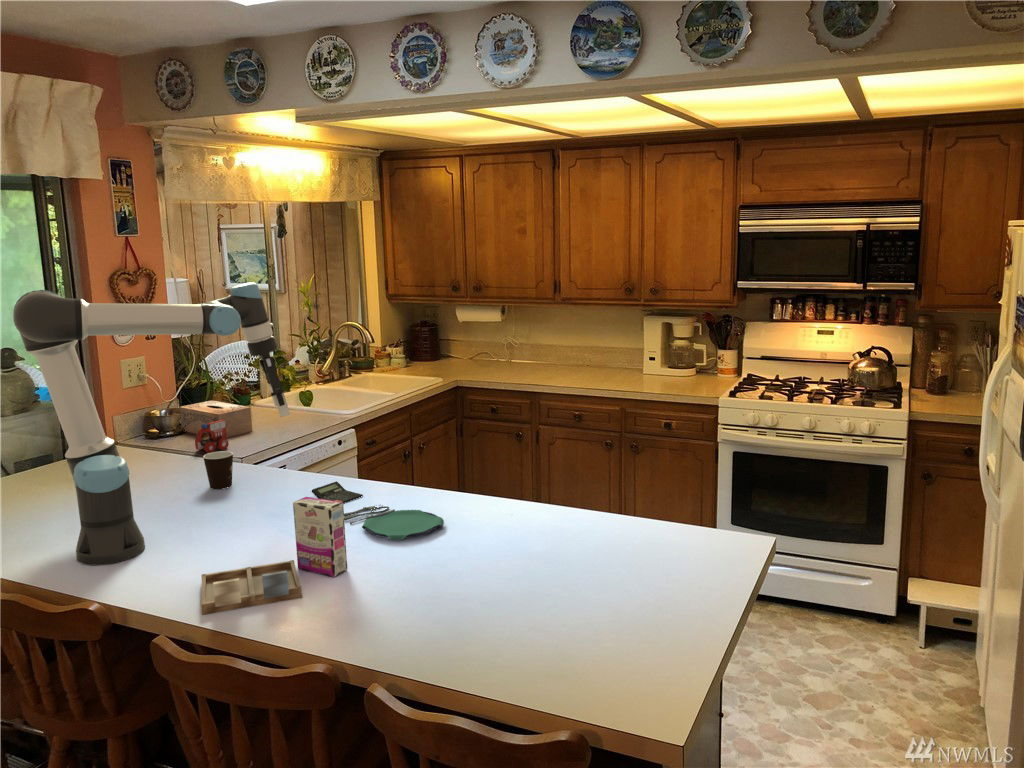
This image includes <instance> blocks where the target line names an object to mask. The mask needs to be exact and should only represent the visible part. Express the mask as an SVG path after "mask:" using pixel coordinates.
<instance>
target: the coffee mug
mask: <svg viewBox="0 0 1024 768" xmlns="http://www.w3.org/2000/svg"><path fill="white" fill-rule="evenodd" d="M233 457H234V453H233V451H225V450H220V451H214V452H212V453H208V452H207V453H206V454H204V455H203V457H202V459H203V462H204V467H205V471H206V475H207V480H208V484H209V488H210V489H211V488H212V490H224V489H223V488H225V489H228V488H227V487H229V488H231V487H232V486H233V468H234V467H233V465H234V464H233V463H234V462H233V461H234V458H233ZM231 485H232V486H231ZM230 486H231V487H230Z"/></svg>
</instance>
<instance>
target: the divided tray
mask: <svg viewBox="0 0 1024 768" xmlns="http://www.w3.org/2000/svg"><path fill="white" fill-rule="evenodd" d="M302 598H303V588H302V585H301V582H300V579H299V575H298V571H297V568H296V564H295V559H293V560H287V561H282V562H281V561H280V562H275V563H274V562H273V563H268V564H260V565H255V566H248V567H243V568H236V569H229V570H224V571H216V572H211V573H202V574H201V603H200V606H201V607H200V609H201V615H203V616H205V615H209V614H215V613H221V612H226V611H233V610H238V609H239V610H240V609H243V608H244V609H245V608H249V607H250V608H251V607H254V606H255V607H256V606H262V605H266V604H267V605H268V604H272V603H277V602H278V603H279V602H285V601H290V600H296V599H302Z"/></svg>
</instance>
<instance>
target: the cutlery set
mask: <svg viewBox="0 0 1024 768" xmlns="http://www.w3.org/2000/svg"><path fill="white" fill-rule="evenodd" d="M381 505H382V504H381ZM375 506H376V505H372V506H371V505H370V506H368V507H367V506H363V507H362V508H361V509H358V510H355V511H351V512H345V513H344V516H345V517H344V522H345V521H348V520H351V519H355V518H358V517H361V516H365V517H363V518H360V519H358V520H353V521H349V525H352V524H354V523H357V522H360V521H364V520H365V521H364V522H363V524H362V526H361V528H362V529H363V530H365V531H366V532H368V533H369V534H371V535H373V536H376V537H380V538H388V539H390V540H392V541H394V540H396V541H398V540H400V541H402V540H404V539H405V538H412V537H419V536H422V535H425V534H428V533H430V532H433V531H435V530H436V529H437V528H439V526H442V527H441V528H443V526H444V523H445V522H444V521H445V520H444V519H443V517H441V516H438V515H436V514H435V513H431V512H427V511H423V510H420V509H399V510H398V509H397V510H396V509H391V510H389V508H390V507H389V506H388V505H387V506H383V505H382V507H379V508H377V507H375ZM374 508H375V509H374ZM380 508H387V509H382V510H381V509H380ZM371 509H372V510H371ZM376 509H378V510H376ZM368 510H370V511H368ZM373 510H375V511H373ZM363 511H364V513H361V512H363ZM366 511H368V512H366ZM372 511H373V512H372ZM383 511H384V512H383ZM358 512H359V513H358ZM379 512H380V513H379ZM355 513H356V514H355ZM351 514H353V515H351ZM374 514H375V515H374ZM348 515H349V516H348Z"/></svg>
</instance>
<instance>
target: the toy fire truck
mask: <svg viewBox="0 0 1024 768" xmlns="http://www.w3.org/2000/svg"><path fill="white" fill-rule="evenodd" d="M226 427H227V422H226V420H220V421H216V422H211V423H208V424H202V425H201V428H202V429H199V430H198V433H197V434H196V437H195V438H194V444H195V445H194V446H195V449H196V450H197V451H202V452H203V451H204V452H206V453H207V454H208V453H212V452H216V451H215V450H216V448H218V449H219V450H220V451H225V450H227V448H228V447H229V441H228V437H227V435H226ZM207 432H208V433H207Z"/></svg>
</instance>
